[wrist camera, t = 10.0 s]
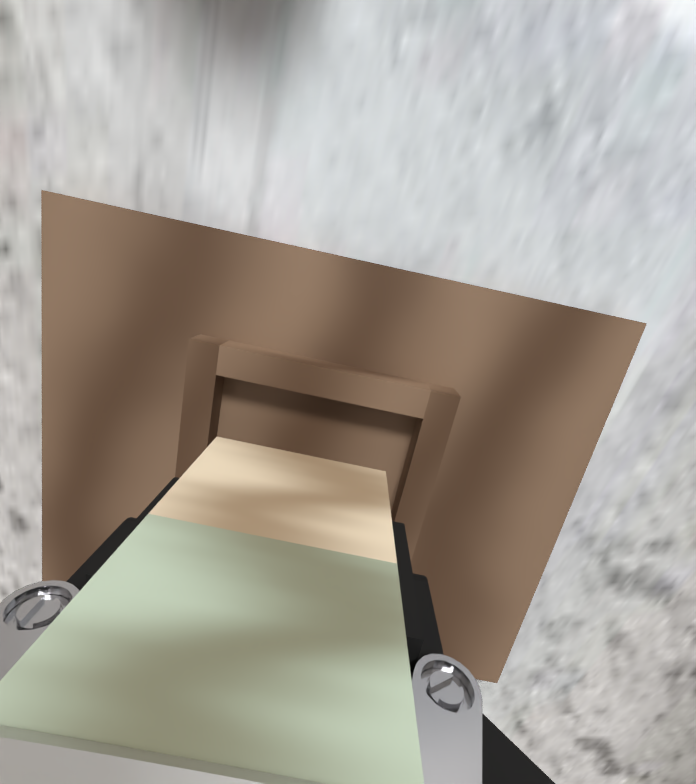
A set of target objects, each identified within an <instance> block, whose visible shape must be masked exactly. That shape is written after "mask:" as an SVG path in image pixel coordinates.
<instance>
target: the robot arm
mask: <svg viewBox="0 0 696 784" xmlns="http://www.w3.org/2000/svg"><path fill="white" fill-rule="evenodd" d="M179 479H180V478H177V477H174V478H173V479H172V480H171V481H170V482H169V483H168V484H167V485H166V486H165V488H164V489H163V490H162V491H161V492H160V493H159V494H158V495H157V496H156V497H155V499H154V500H153V501H152V502H151V503H150V504H149V505H148V506H147V507H146V508H145V510H144V511H143V512H142V513H141V514H140V515H139V516H138V517H137V518H133V517H129V518H127V519H126V520H125V521H123V522H122V524H121V525H120V526H119V527H118V528H117V529H116V530H115V531H114V532H113V533H112V534H111V535H110V536H109V537H108V538H107V539H106V540H105V541H104V542H103V543H102V545H101V546H100V547H99V548H98V549H97V550H96V551H95V552H94V553H93V554H92V555H91V556H90V557H89V558H88V559H87V560H86V561H85V562H84V563H83V564H82V566H81V567H80V568H79V569H78V570H77V571H76V572H75V573H74V574H73V575H72V576H71V577H70V578H69V579H68V580H67V581H66V582H65V581H57V580H50V581H41V582H37V583H34V584H30V585H27V586H25V587H23V588H21V589H18V590H16V591H14V592H13V593H12V594H10V595H9V596H7V597H6V598H5V599H4V600H3V601H2V602H1V603H0V681H1V679H2V678H3V677H4V676H5V675H6V674H7V673H8V671H9V670H10V669H11V668H12V667H13V666H14V665H15V664H16V662H17V661H18V660H19V659H20V658H21V657H22V656H23V655H24V653H25V652H26V651H27V650H28V649H29V648H30V647H31V646H32V644H33V643H34V642H35V641H36V640H37V639H38V638H39V637H40V635H41V634H42V633H43V632H44V631H45V630H46V629H47V627H48V626H49V625H50V624H51V623H52V622H53V621H54V620H55V618H56V617H57V616H58V615H59V614H60V613H61V612H62V611H63V609H64V608H65V607H66V606H67V605H68V604H69V603H70V602H71V600H72V599H73V598H74V597H75V596H76V595H77V594H78V592H79V591H80V590H81V589H82V588H83V587H84V586H85V585H86V583H87V582H88V581H89V580H90V579H91V578H92V577H93V576H94V574H95V573H96V572H97V571H98V570H99V569H100V568H101V567H102V565H103V564H104V563H105V562H106V561H107V560H108V559H109V558H110V556H111V555H112V554H113V553H114V552H115V551H116V550H117V548H118V547H119V546H120V545H121V544H122V543H123V542H124V541H125V539H126V538H127V537H128V536H129V535H130V534H131V533H132V532H133V530H134V529H135V528H136V527H137V526H138V525H139V524H140V523H141V521H142V520H143V519H144V518H145V517H146V516H147V515H148V513H149V512H150V511H151V510H152V509H153V508H154V507H155V506H156V504H157V503H158V502H159V501H160V500H161V499H162V498H163V497H164V495H165V494H166V493H167V492H168V491H169V490H170V489H171V488H172V486H173V485H174V484H175V483H176V482H177V481H178V480H179ZM392 526H393V534H394V542H395V550H396V558H397V566H398V575H399V583H400V591H401V599H402V607H403V615H404V623H405V631H406V639H407V648H408V656H409V664H410V672H411V680H412V688H413V696H414V704H415V713H416V721H417V729H418V737H419V745H420V753H421V761H422V769H423V777H424V784H555V783H554V782H553V781H552V780H551V779H550V778H549V777H548V776H547V775H546V774H545V773H544V772H543V771H542V770H541V769H539V768H538V767H537V766H536V765H535V764H534V763H533V762H532V761H531V760H530V759H529V758H528V757H527V756H526V755H525V754H524V753H523V752H522V751H521V750H520V749H519V748H518V747H517V746H516V745H515V744H514V743H513V742H512V741H510V740H509V739H508V738H507V737H506V736H505V735H504V734H503V733H502V732H501V731H500V730H499V729H498V728H497V727H496V726H495V725H494V724H493V723H492V722H491V721H490V720H489V719H488V718H487V717H486V716H485V715H484V714H483V713H482V695H481V690H480V687H479V685H478V683H477V681H476V679H475V678H474V676H473V675H472V674H471V673H470V671H469V670H468V669H467V668H466V667H464V666H463V665H462V664H461V663H460V662H458V661H456V660H455V659H453V658H451V657H449V656H445V655H444V654H443V649H442V644H441V640H440V635H439V630H438V626H437V621H436V616H435V612H434V607H433V603H432V598H431V593H430V589H429V584H428V580H427V577H426V576H424V575H419V574H414V573H413V572H412V566H411V560H410V554H409V548H408V542H407V536H406V531H405V525H404V523H400V522H395V521H392ZM0 784H323V783H318V782H313V781H308V780H302V779H297V778H292V777H287V776H281V775H276V774H271V773H265V772H260V771H254V770H249V769H243V768H238V767H233V766H227V765H222V764H216V763H211V762H205V761H200V760H194V759H189V758H183V757H178V756H172V755H167V754H161V753H156V752H150V751H145V750H139V749H134V748H128V747H123V746H117V745H112V744H106V743H100V742H95V741H89V740H83V739H77V738H72V737H66V736H60V735H54V734H49V733H43V732H37V731H32V730H26V729H20V728H14V727H9V726H3V725H0Z"/></svg>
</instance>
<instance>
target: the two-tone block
mask: <svg viewBox="0 0 696 784" xmlns="http://www.w3.org/2000/svg"><path fill="white" fill-rule="evenodd" d="M0 725H3V726H9V727H14V728H20V729H26V730H32V731H37V732H43V733H49V734H54V735H60V736H66V737H72V738H77V739H83V740H89V741H95V742H100V743H106V744H112V745H117V746H123V747H128V748H134V749H139V750H145V751H150V752H156V753H161V754H167V755H172V756H178V757H183V758H189V759H194V760H200V761H205V762H211V763H216V764H222V765H227V766H233V767H238V768H243V769H249V770H254V771H260V772H265V773H271V774H276V775H281V776H287V777H292V778H297V779H302V780H308V781H313V782H318V783H323V784H424V777H423V769H422V761H421V753H420V745H419V737H418V729H417V721H416V713H415V704H414V696H413V688H412V680H411V672H410V664H409V656H408V648H407V639H406V631H405V623H404V615H403V607H402V599H401V591H400V583H399V575H398V566H397V558H396V550H395V542H394V534H393V526H392V518H391V510H390V501H389V493H388V485H387V477H386V471H381V470H377V469H372V468H367V467H362V466H357V465H352V464H348V463H343V462H338V461H333V460H328V459H323V458H318V457H314V456H309V455H304V454H299V453H294V452H289V451H285V450H280V449H275V448H270V447H265V446H260V445H256V444H251V443H246V442H241V441H236V440H231V439H226V438H222V437H216V438H215V439H214V440H213V441H212V442H211V444H210V445H209V446H208V447H207V448H206V449H205V450H204V451H203V453H202V454H201V455H200V456H199V457H198V458H197V459H196V460H195V462H194V463H193V464H192V465H191V466H190V467H189V468H188V469H187V471H186V472H185V473H184V474H183V475H182V476H181V477H180V479H179V480H178V481H177V482H176V483H175V484H174V485H173V486H172V488H171V489H170V490H169V491H168V492H167V493H166V494H165V495H164V497H163V498H162V499H161V500H160V501H159V502H158V503H157V504H156V506H155V507H154V508H153V509H152V510H151V511H150V512H149V513H148V515H147V516H146V517H145V518H144V519H143V520H142V521H141V523H140V524H139V525H138V526H137V527H136V528H135V529H134V530H133V532H132V533H131V534H130V535H129V536H128V537H127V538H126V539H125V541H124V542H123V543H122V544H121V545H120V546H119V547H118V548H117V550H116V551H115V552H114V553H113V554H112V555H111V556H110V558H109V559H108V560H107V561H106V562H105V563H104V564H103V565H102V567H101V568H100V569H99V570H98V571H97V572H96V573H95V574H94V576H93V577H92V578H91V579H90V580H89V581H88V582H87V583H86V585H85V586H84V587H83V588H82V589H81V590H80V591H79V592H78V594H77V595H76V596H75V597H74V598H73V599H72V600H71V602H70V603H69V604H68V605H67V606H66V607H65V608H64V609H63V611H62V612H61V613H60V614H59V615H58V616H57V617H56V618H55V620H54V621H53V622H52V623H51V624H50V625H49V626H48V627H47V629H46V630H45V631H44V632H43V633H42V634H41V635H40V637H39V638H38V639H37V640H36V641H35V642H34V643H33V644H32V646H31V647H30V648H29V649H28V650H27V651H26V652H25V653H24V655H23V656H22V657H21V658H20V659H19V660H18V661H17V662H16V664H15V665H14V666H13V667H12V668H11V669H10V670H9V671H8V673H7V674H6V675H5V676H4V677H3V678H2V679H1V681H0Z"/></svg>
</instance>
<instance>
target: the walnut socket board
mask: <svg viewBox="0 0 696 784" xmlns="http://www.w3.org/2000/svg"><path fill="white" fill-rule="evenodd" d="M645 326H646V323H642V322H637V321H633V320H628V319H624V318H619V317H615V316H610V315H606V314H601V313H597V312H592V311H588V310H583V309H578V308H574V307H569V306H565V305H560V304H556V303H551V302H547V301H542V300H538V299H533V298H529V297H524V296H519V295H515V294H510V293H506V292H501V291H497V290H492V289H488V288H483V287H479V286H474V285H470V284H465V283H461V282H456V281H451V280H447V279H442V278H438V277H433V276H429V275H424V274H420V273H415V272H411V271H406V270H402V269H397V268H393V267H388V266H383V265H379V264H374V263H370V262H365V261H361V260H356V259H352V258H347V257H343V256H338V255H334V254H329V253H325V252H320V251H315V250H311V249H306V248H302V247H297V246H293V245H288V244H284V243H279V242H275V241H270V240H266V239H261V238H257V237H252V236H247V235H243V234H238V233H234V232H229V231H225V230H220V229H216V228H211V227H207V226H202V225H198V224H193V223H188V222H184V221H179V220H175V219H170V218H166V217H161V216H157V215H152V214H148V213H143V212H139V211H134V210H130V209H125V208H120V207H116V206H111V205H107V204H102V203H98V202H93V201H89V200H84V199H80V198H75V197H71V196H66V195H62V194H57V193H52V192H48V191H43V190H42V581H50V580H57V581H65V582H66V581H67V580H68V579H69V578H70V577H71V576H72V575H73V574H74V573H75V572H76V571H77V570H78V569H79V568H80V567H81V566H82V564H83V563H84V562H85V561H86V560H87V559H88V558H89V557H90V556H91V555H92V554H93V553H94V552H95V551H96V550H97V549H98V548H99V547H100V546H101V545H102V543H103V542H104V541H105V540H106V539H107V538H108V537H109V536H110V535H111V534H112V533H113V532H114V531H115V530H116V529H117V528H118V527H119V526H120V525H121V524H122V522H123V521H125V520H126V519H127V518H129V517H133V518H137V517H138V516H139V515H140V514H141V513H142V512H143V511H144V510H145V508H146V507H147V506H148V505H149V504H150V503H151V502H152V501H153V500H154V499H155V497H156V496H157V495H158V494H159V493H160V492H161V491H162V490H163V489H164V488H165V486H166V485H167V484H168V483H169V482H170V481H171V480H172V479H173V478H174V477H177V478H180V477H181V476H182V475H183V474H184V473H185V472H186V471H187V469H188V468H189V467H190V466H191V465H192V464H193V463H194V462H195V460H196V459H197V458H198V457H199V456H200V455H201V454H202V453H203V451H204V450H205V449H206V448H207V447H208V446H209V445H210V444H211V442H212V441H213V440H214V439H215V438H216V437H222V438H226V439H231V440H236V441H241V442H246V443H251V444H256V445H260V446H265V447H270V448H275V449H280V450H285V451H289V452H294V453H299V454H304V455H309V456H314V457H318V458H323V459H328V460H333V461H338V462H343V463H348V464H352V465H357V466H362V467H367V468H372V469H377V470H381V471H386V477H387V485H388V493H389V501H390V510H391V518H392V521H395V522H400V523H404V525H405V531H406V536H407V542H408V548H409V554H410V560H411V566H412V572H413V573H414V574H419V575H424V576H426V577H427V580H428V584H429V589H430V593H431V598H432V603H433V607H434V612H435V616H436V621H437V626H438V630H439V635H440V640H441V644H442V649H443V654H444V655H445V656H449V657H451V658H453V659H455V660H456V661H458V662H460V663H461V664H462V665H463V666H464V667H466V668H467V669H468V670H469V671H470V673H471V674H472V675H473V676H474V678H475V679H479V680H484V681H489V682H494V683H497V682H498V680H499V677H500V675H501V673H502V670H503V668H504V665H505V663H506V660H507V658H508V656H509V653H510V651H511V648H512V646H513V644H514V641H515V639H516V636H517V634H518V632H519V629H520V627H521V624H522V622H523V620H524V617H525V615H526V612H527V610H528V608H529V605H530V603H531V600H532V598H533V596H534V593H535V591H536V588H537V586H538V584H539V581H540V579H541V576H542V574H543V572H544V569H545V567H546V564H547V562H548V559H549V557H550V555H551V552H552V550H553V547H554V545H555V543H556V540H557V538H558V535H559V533H560V531H561V528H562V526H563V523H564V521H565V519H566V516H567V514H568V511H569V509H570V507H571V504H572V502H573V499H574V497H575V495H576V492H577V490H578V487H579V485H580V483H581V480H582V478H583V475H584V473H585V471H586V468H587V466H588V463H589V461H590V459H591V456H592V454H593V451H594V449H595V446H596V444H597V442H598V439H599V437H600V434H601V432H602V430H603V427H604V425H605V422H606V420H607V418H608V415H609V413H610V410H611V408H612V406H613V403H614V401H615V398H616V396H617V394H618V391H619V389H620V386H621V384H622V382H623V379H624V377H625V374H626V372H627V370H628V367H629V365H630V362H631V360H632V358H633V355H634V353H635V350H636V348H637V346H638V343H639V341H640V338H641V336H642V333H643V331H644V329H645Z"/></svg>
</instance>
